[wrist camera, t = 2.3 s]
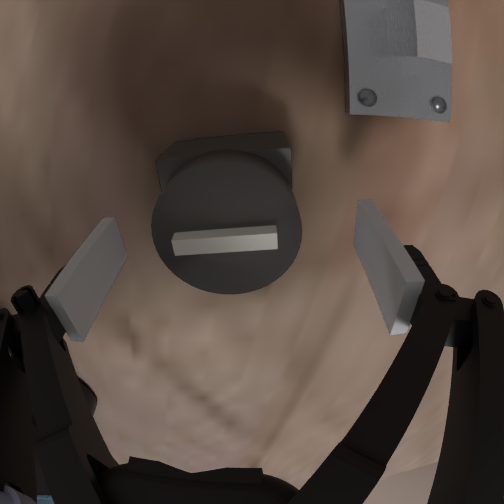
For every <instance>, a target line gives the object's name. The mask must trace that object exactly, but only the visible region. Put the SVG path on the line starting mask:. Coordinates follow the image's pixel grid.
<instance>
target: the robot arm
mask: <svg viewBox="0 0 504 504" xmlns="http://www.w3.org/2000/svg"><path fill="white" fill-rule="evenodd" d="M354 247H355V249H356V251H357V254H358V256H359V258H360V261H361V263H362V265H363V268H364V270H365V272H366V275H367V277H368V279H369V282H370V284H371V287H372V289H373V292H374V294H375V297H376V299H377V302H378V304H379V307H380V310H381V312H382V315H383V318H384V320H385V323H386V326H387V328H388V331H389V334H390V335H395V334H402V333H407V331H408V328H409V325H410V323H411V325H412V327H411V329H410V331H409V333H408V335H407V337H406V339H405V341H404V343H403V345H402V346H401V348H400V350H399V352H398V354H397V356H396V357H395V359H394V361H393V363H392V365H391V366H390V368H389V370H388V372H387V373H386V375H385V377H384V378H383V380H382V382H381V383H380V385H379V387H378V388H377V390H376V391H375V393H374V395H373V396H372V398H371V399H370V401H369V402H368V404H367V406H366V407H365V409H364V410H363V412H362V413H361V415H360V416H359V418H358V419H357V420H356V422H355V423H354V425H353V426H352V428H351V429H350V430H349V432H348V433H347V435H346V436H345V437H344V439H343V440H342V441H341V442H340V443H338V445H337V446H336V447H335V448H334V449H333V451H332V452H331V453H330V454H329V456H328V457H327V458H326V459H325V461H324V462H323V463H322V464H321V466H320V467H319V468H318V469H317V470H316V472H315V473H314V474H313V475H312V476H311V478H310V479H309V480H308V481H307V482H306V483H305V484H304V486H303V487H302V488H301V489H300V490H298V489H297V488H295V487H294V486H293V485H291V484H289V483H288V482H286V481H284V480H281V479H279V478H276V477H273V476H270V475H265V474H263V471H262V468H222V469H216V470H210V471H204V472H197V473H189V472H186V471H183V470H180V469H177V468H175V467H172V466H169V465H167V464H164V463H162V462H159V461H154V460H147V459H141V458H136V457H131V456H130V457H129V462H128V463H126V464H121V465H119V464H118V463H117V462H116V461H115V459H114V458H113V457H112V455H111V454H110V452H109V450H108V448H107V446H106V444H105V442H104V440H103V438H102V435H101V433H100V431H99V429H98V427H97V425H96V422H95V420H94V418H93V415H94V412H95V409H96V406H97V401H96V398H95V397H94V395H93V394H92V392H91V391H90V390H89V389H88V388H87V387H86V386H85V385H83V384H82V383H81V382H80V381H79V380H78V377H77V374H76V372H75V369H74V366H73V363H72V360H71V357H70V354H69V350H68V347H67V344H66V342H65V340H64V339H63V336H64V334H65V332H66V333H67V334H68V336H69V337H70V339H71V340H73V341H83V342H84V340H85V338H86V336H87V334H88V332H89V330H90V328H91V326H92V324H93V322H94V320H95V318H96V316H97V314H98V312H99V310H100V308H101V306H102V304H103V302H104V300H105V298H106V296H107V294H108V292H109V290H110V289H111V287H112V285H113V283H114V281H115V279H116V277H117V276H118V274H119V272H120V270H121V268H122V267H123V265H124V263H125V261H126V259H127V258H128V257H127V254H126V251H125V248H124V245H123V242H122V239H121V236H120V233H119V230H118V226H117V223H116V220H115V217H108V218H103V219H102V220H101V221H100V223H99V224H98V225H97V226H96V227H95V229H94V230H93V231H92V232H91V234H90V235H89V236H88V237H87V239H86V240H85V241H84V242H83V244H82V245H81V246H80V247H79V249H78V250H77V251H76V253H75V254H74V255H73V257H72V258H71V259H70V260H69V262H68V263H67V264H66V265H65V266H64V267H63V268H61V269H60V270H59V271H58V273H57V274H56V275H55V277H54V279H53V280H52V281H51V282H50V284H49V285H48V287H47V288H46V289H45V291H44V292H43V294H42V295H41V297H40V298H38V296H37V294H36V293H35V291H34V289H33V287H32V286H30V285H29V286H24V287H21V288H20V289H18V290H17V291H16V292H15V293H14V294H13V296H12V297H11V303H12V304H13V306H14V308H15V309H16V311H17V312H18V314H16V315H11V314H10V312H9V311H8V309H6V308H3V309H0V504H363V502H364V501H365V500H366V498H367V497H368V495H369V494H370V492H371V491H372V490H373V488H374V487H375V485H376V484H377V482H378V481H379V479H380V478H381V476H382V475H383V473H384V471H385V469H386V465H387V463H388V461H389V459H390V458H391V456H392V454H393V453H394V451H395V449H396V448H397V446H398V444H399V442H400V441H401V439H402V437H403V435H404V433H405V432H406V430H407V428H408V426H409V424H410V422H411V420H412V418H413V416H414V414H415V412H416V410H417V408H418V406H419V404H420V402H421V400H422V398H423V396H424V394H425V392H426V389H427V387H428V385H429V383H430V380H431V378H432V376H433V373H434V371H435V368H436V366H437V364H438V361H439V359H440V356H441V353H442V351H443V348H444V346H449V347H453V365H452V378H451V389H450V398H449V406H448V413H447V420H446V426H445V432H444V438H443V443H442V448H441V453H440V457H439V462H438V466H437V470H436V474H435V478H434V482H433V486H432V489H431V492H430V496H429V499H428V503H427V504H504V309H503V304H502V302H501V299H500V298H499V297H498V296H497V295H496V294H495V293H493V292H491V291H488V290H481V291H478V293H477V294H476V296H475V298H474V299H469V298H462V297H459V296H458V293H457V292H456V291H455V290H454V289H453V288H452V287H450V286H448V285H445V284H441V282H440V281H439V279H438V278H437V276H436V274H435V273H434V271H433V270H432V268H431V267H430V266H429V264H428V262H427V261H426V260H425V258H424V256H423V255H422V253H421V252H420V251H419V250H418V249H417V248H415V247H414V246H413V245H403V244H402V243H401V241H400V240H399V238H398V237H397V235H396V234H395V232H394V231H393V229H392V228H391V226H390V225H389V223H388V222H387V220H386V219H385V218H384V216H383V215H382V213H381V212H380V210H379V209H378V208H377V206H376V205H375V203H374V202H373V201H372V199H367V200H358V205H357V216H356V227H355V237H354ZM9 352H10V353H11V357H10V355H9Z"/></svg>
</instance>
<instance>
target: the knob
mask: <svg viewBox="0 0 504 504" xmlns="http://www.w3.org/2000/svg"><path fill="white" fill-rule="evenodd" d="M155 162H156V167H157V172H158V177H159V182H160V186H161V191H162V194H161V195H160V197H159V199H158V200H157V203H156V205H155V208H154V211H153V215H152V224H151V227H152V237H153V241H154V244H155V247H156V250H157V252H158V254H159V256H160V258H161V259H162V261H163V262H164V263H165V265H166V266H167V267H168V268H169V269H170V270H171V271H172V272H173V273H174V274H175V275H176V276H177V277H179V278H180V279H182V280H183V281H184V282H186V283H188V284H190V285H192V286H194V287H196V288H199V289H201V290H205V291H208V292H213V293H218V294H241V293H247V292H251V291H254V290H257V289H260V288H262V287H265V286H267V285H269V284H270V283H272V282H274V281H275V280H276V279H278V278H279V277H280V276H282V275H283V274H284V273H285V272H286V271H287V269H288V268H289V267H290V266H291V264H292V263H293V262H294V259H295V258H296V256H297V253H298V251H299V248H300V244H301V238H302V225H301V219H300V215H299V211H298V207H297V204H296V201H295V197H294V194H293V191H292V167H291V147H290V145H289V143H288V141H287V139H286V136H285V134H284V132H267V133H252V134H240V135H229V136H219V137H210V138H202V139H194V140H186V141H179V142H174V143H173V144H172V145H171V146H170V147H169V148H168V149H167V150H166V151H165V152H164V153H163V154H162V155H161V156H160V157H159V158H158V159H157V160H156V161H155Z"/></svg>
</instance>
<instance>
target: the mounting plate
mask: <svg viewBox="0 0 504 504" xmlns="http://www.w3.org/2000/svg"><path fill="white" fill-rule="evenodd" d="M339 1H340V11H341V22H342V34H343V49H344V69H345V102H346V113H348V114H353V115H377V116H393V117H405V118H416V119H426V120H434V121H442V122H449V123H450V115H451V93H452V40H451V26H450V15H449V7H448V2H447V0H339Z"/></svg>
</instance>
